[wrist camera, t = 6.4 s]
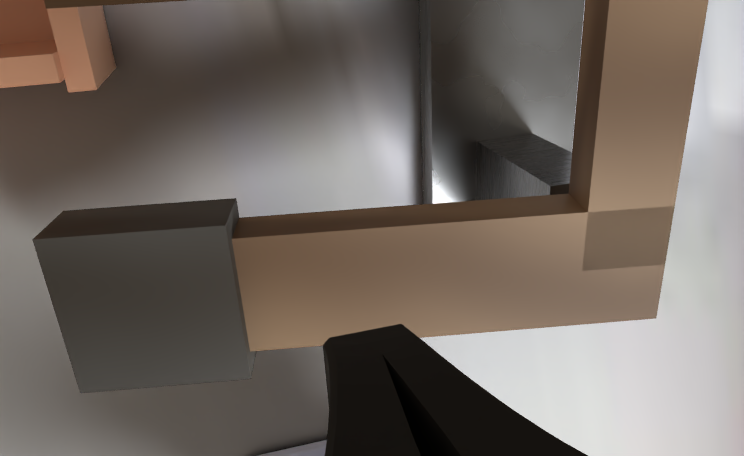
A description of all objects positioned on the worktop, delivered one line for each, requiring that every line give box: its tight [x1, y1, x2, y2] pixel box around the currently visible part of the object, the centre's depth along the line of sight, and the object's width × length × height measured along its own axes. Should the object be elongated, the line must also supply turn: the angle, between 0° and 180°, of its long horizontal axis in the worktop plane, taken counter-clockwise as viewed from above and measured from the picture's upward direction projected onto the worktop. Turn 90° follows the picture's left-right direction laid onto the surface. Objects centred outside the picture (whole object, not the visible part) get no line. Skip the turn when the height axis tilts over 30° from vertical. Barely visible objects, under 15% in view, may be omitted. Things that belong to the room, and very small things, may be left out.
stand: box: [419, 0, 585, 204], centre depth 16 cm, size 15×5×6 cm, turn 3°
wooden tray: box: [33, 0, 708, 393], centre depth 13 cm, size 16×25×6 cm, turn 93°
